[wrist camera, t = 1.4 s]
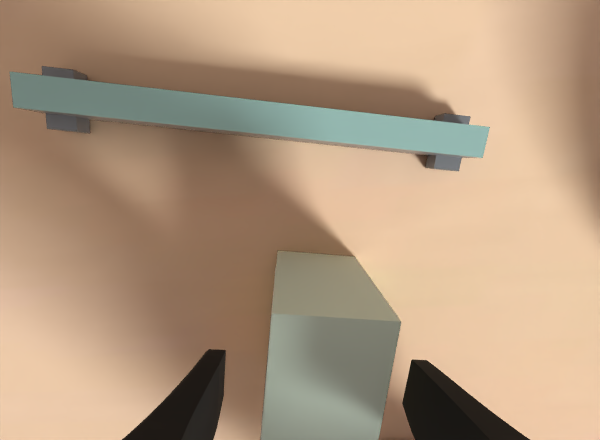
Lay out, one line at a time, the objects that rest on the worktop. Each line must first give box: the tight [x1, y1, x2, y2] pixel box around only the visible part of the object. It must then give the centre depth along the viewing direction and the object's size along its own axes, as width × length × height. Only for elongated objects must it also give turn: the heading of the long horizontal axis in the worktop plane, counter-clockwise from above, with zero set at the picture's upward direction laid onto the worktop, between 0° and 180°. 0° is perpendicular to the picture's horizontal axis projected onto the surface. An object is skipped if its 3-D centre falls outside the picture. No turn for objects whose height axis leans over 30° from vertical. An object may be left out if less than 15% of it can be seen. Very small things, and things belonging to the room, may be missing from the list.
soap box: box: [260, 251, 401, 440], centre depth 12 cm, size 7×4×6 cm, turn 174°
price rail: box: [10, 66, 490, 171], centre depth 12 cm, size 2×18×2 cm, turn 84°
